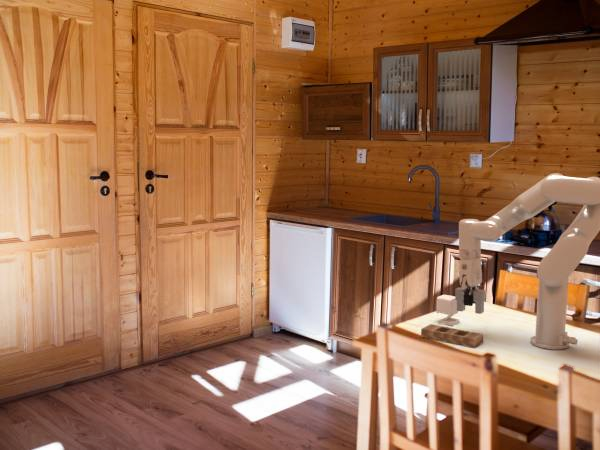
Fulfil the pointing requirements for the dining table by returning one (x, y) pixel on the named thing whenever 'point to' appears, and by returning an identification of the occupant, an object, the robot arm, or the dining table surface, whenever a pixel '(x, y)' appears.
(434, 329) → the wooden frame
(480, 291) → the grey rectangular block
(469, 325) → the dining table surface
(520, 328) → the dining table surface
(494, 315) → the dining table surface
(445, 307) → the security camera
